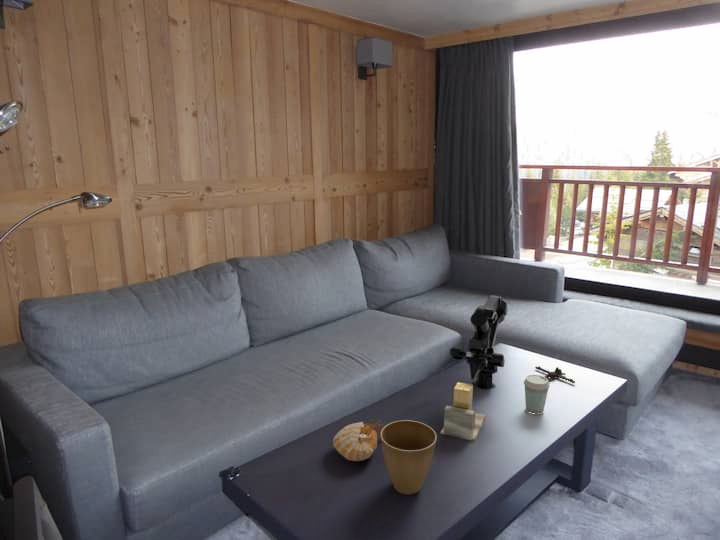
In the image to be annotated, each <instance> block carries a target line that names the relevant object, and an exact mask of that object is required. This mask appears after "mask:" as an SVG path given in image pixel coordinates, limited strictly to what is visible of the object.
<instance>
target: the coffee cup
mask: <svg viewBox="0 0 720 540" xmlns="http://www.w3.org/2000/svg"><path fill="white" fill-rule="evenodd" d="M523 384H524V396H525V397H524V399H525V410H527V411H528V412H531V413H535V414H538V413H542V412H543V413H544V410H545V406H546V401H547V397H548V391H549V389H550V387H551V386H550V381H548V378H545V377H544V376H542V375H540V374H530V375H527V376H526V377H525V379H524V380H523ZM527 411H526V412H527ZM528 412H527V413H528ZM543 413H542V414H543Z"/></svg>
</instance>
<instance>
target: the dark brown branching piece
mask: <svg viewBox="0 0 720 540" xmlns="http://www.w3.org/2000/svg"><path fill="white" fill-rule="evenodd" d="M535 369H536V370H539V371H541V372H543V373H546V374H547V375H545V376H543V377H545V378H547V379H548V382H550V381H552V380H554V379H553V378H555V377H557V378H558V377H559V378H558V379H560V378H562V379H561V380H564V379H565V381H567V380H568V381H567V382H569V381H570V382H569V383H571V382H572V383H571V384H575V383H576V381H575V380H573V379H574V378H568V377H565V376H566V374H567V373H566V372H562V369H560V368H559V366H557V367H555V369H554V371H549V370H547V369H544V368H542V367H541V365H539V366H535ZM548 377H550V378H548ZM551 379H552V380H551ZM555 379H556V378H555ZM549 380H550V381H549Z"/></svg>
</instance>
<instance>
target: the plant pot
mask: <svg viewBox="0 0 720 540" xmlns="http://www.w3.org/2000/svg"><path fill="white" fill-rule="evenodd" d="M381 429H382V430H380V431H381V432H380V442H381V446H382V452H383V457H384V461H385V465H386V469H387V471H388V475H389V477H390V480H391V482H392V486H393V488H394V489H395V491H397V492H398V493H400V494H403V495H413V494H416V493H418V492H419V491H420V490H421V488H422V486H423V484H424V482H425V480H426V478H427V475H428V473H429V469H430V466H431V463H432V459H433V456H434V452H435V448H436V443H437V442H436V441H437V433H436V431H435V430H434V429H433V428H432V427H430V426H429V425H427V424H425V423H424V422H421V421H415V420H410V419H402V420H397V421H392V422H390V423H388V424H385V426H384V427H382V428H381Z"/></svg>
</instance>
